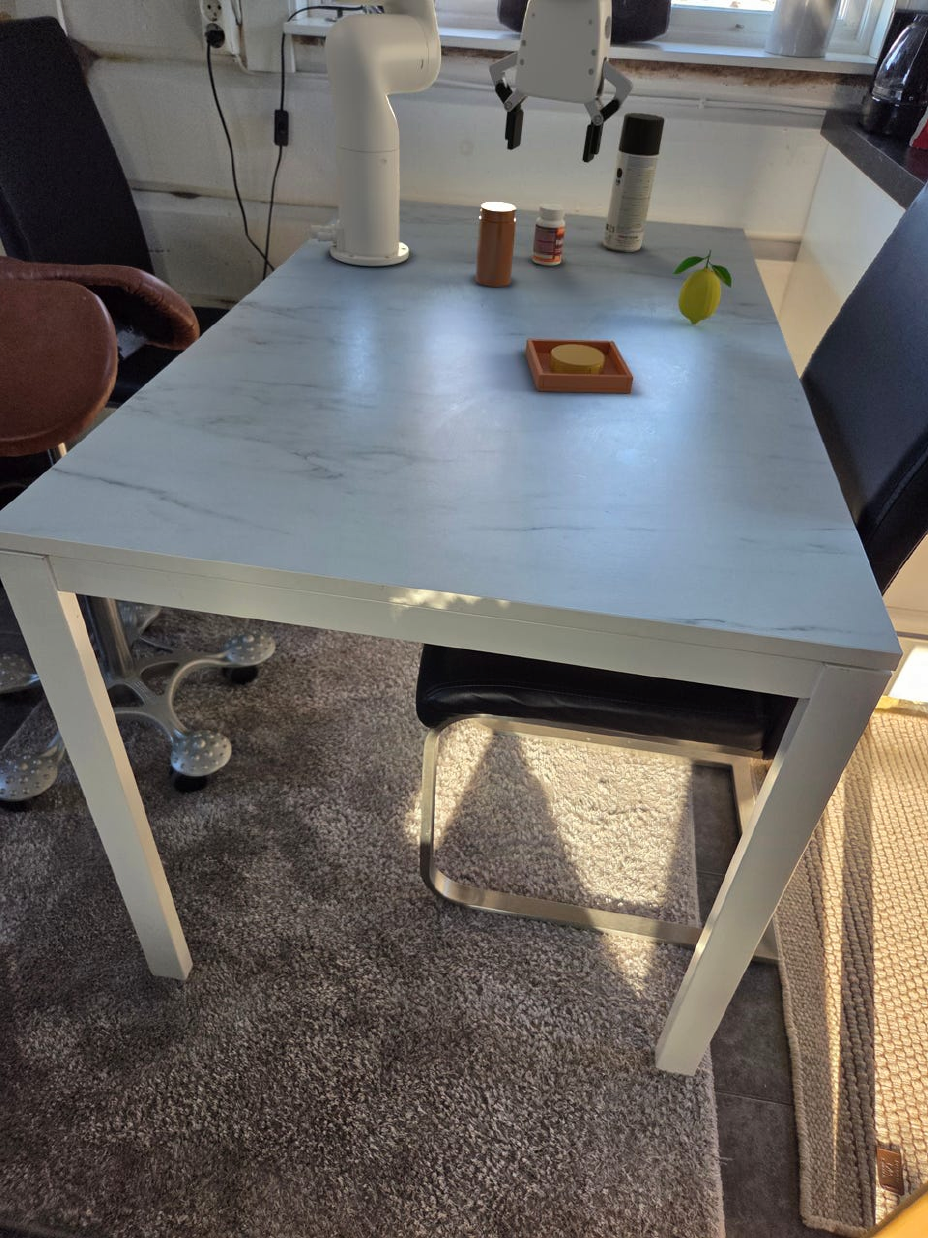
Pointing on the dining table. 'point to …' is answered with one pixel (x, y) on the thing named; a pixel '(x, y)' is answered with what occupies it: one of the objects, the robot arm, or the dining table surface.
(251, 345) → the dining table surface
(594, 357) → the jar lid
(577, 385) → the tray
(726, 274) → the lemon
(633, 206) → the spray can
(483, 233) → the brown jar
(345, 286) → the dining table surface
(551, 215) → the pill bottle
